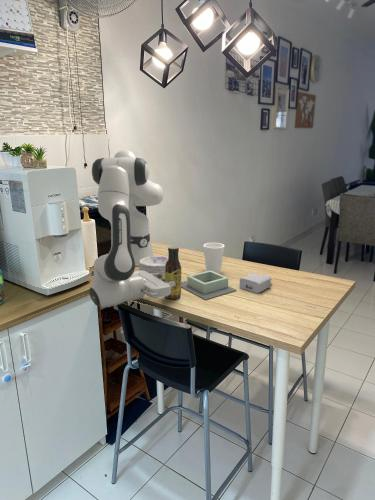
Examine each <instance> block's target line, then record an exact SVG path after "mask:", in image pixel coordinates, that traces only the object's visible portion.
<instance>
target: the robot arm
mask: <svg viewBox="0 0 375 500" xmlns="http://www.w3.org/2000/svg"><path fill="white" fill-rule="evenodd" d="M149 175H150V167H149V166H148V162H147V161H146V160H145V159H144V158H139V157H136V155H135V154H134V152H132V151H131V150H129V149H122V150H119V151H117V153H116V154H114V157H107V158H104V157H101V158H97V159H96V160H94V161H93V163H92V165H91V176H92V179H93V181H94V182H95V183H96V184H97V185H98V191H97V209H98V213H99V214H100V216H101V217H102V218H104V219H106V220H108V221H109V224H110V227H111V231H110V232H111V237H110V239H111V242H110V243H111V247H110V250H109V252H108V253H106V254H103V255H100V256H98V257H97V258H96V259H95V260H94V262H93V277H92V282H91V285H90V287H89V289H88V290H89V296H90V299H91V300H92V302H93V304H94V305H95V306H97V307H98V308H108V307H115V306H118V305H122V303H125V302H133V301H136V300H140V299H143V298H144V297H145V295H146V296H147V297H149V298H153V299H158V298H163V297H166V296H168V295H170V294H171V287H172V286H175V285H176V282H175V281H173V280H172V281H169V283H165V280H160V278H162V274H160V273H157V274H152V273H151V274H149V273H148V272H146V271H142V270H140V271H139V270H136V267H139V261H140V260H141V259H143V258H145V257H151V256H154V252H153V243H151V234H150V228H149V225H150V224H149V218H148V216H147V215H146V214H144V212H143V213H142V212H141V211H139V210H138V209H137V207H151V206H157V205H159V204H161V202H162V201H163V199H164V190H163V188H162V186H161V185H160V184H158V183H156V182H154V181H152V180H149V177H150V176H149Z"/></svg>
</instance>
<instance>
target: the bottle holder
mask: <svg viewBox="0 0 375 500" xmlns="http://www.w3.org/2000/svg"><path fill="white" fill-rule="evenodd" d="M186 279H187V280H186V281H187V285H188V286H190V287H192V288H194V289H196V290H197V291H199V292H201V293H203V294H206V293H209V292H213V291H216V290H220V289H223V288H227V287H228V286H229V277H227V276H225V275H223V274H221V273H220V274H218V273H216V272H213V271H211V270H210V271H206V270H205V271H203V272H199V273H194V274H191V275H187V276H186ZM206 281H210V282H207V283H204V282H206Z"/></svg>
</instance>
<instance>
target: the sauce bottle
mask: <svg viewBox="0 0 375 500" xmlns="http://www.w3.org/2000/svg"><path fill="white" fill-rule="evenodd" d="M179 251H180V248H179V246H173V245H171V246H168V247H167V252H168V256H167V257H168V261H167V262H166V265H165V280H164V282H165V283H169V281H172V280H173V281H175V282H176V285H175V286H172V287H171V294H170V295H168V296H165V298H166V299H169V300H177V299H179V298H180V297H181V295H182V294H181V293H182V287H181V282H182V265H181V263H180V260H179Z"/></svg>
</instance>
